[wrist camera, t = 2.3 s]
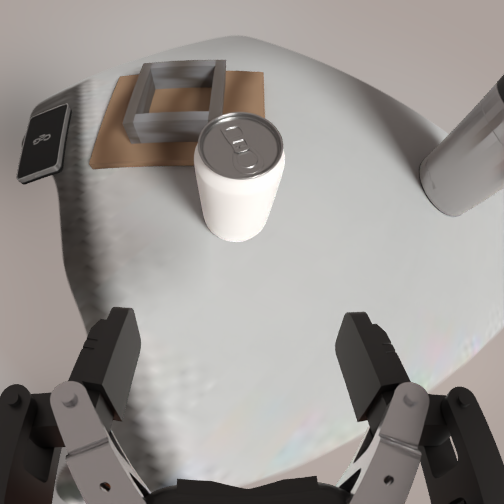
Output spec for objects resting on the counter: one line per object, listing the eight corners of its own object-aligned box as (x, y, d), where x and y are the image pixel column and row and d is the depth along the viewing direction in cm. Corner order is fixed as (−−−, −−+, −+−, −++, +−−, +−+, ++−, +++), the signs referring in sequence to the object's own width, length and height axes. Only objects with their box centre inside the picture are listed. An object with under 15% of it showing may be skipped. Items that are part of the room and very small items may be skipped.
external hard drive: (73, 111, 33) (68, 102, 31) (64, 174, 30) (57, 166, 28) (35, 125, 32) (30, 117, 30) (23, 188, 29) (15, 181, 27)
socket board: (262, 78, 36) (266, 51, 31) (264, 167, 32) (270, 140, 27) (121, 82, 34) (113, 57, 29) (92, 169, 30) (76, 145, 25)
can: (217, 253, 29) (210, 199, 17) (194, 197, 30) (179, 122, 19) (277, 229, 30) (306, 167, 18) (252, 176, 31) (265, 98, 20)
